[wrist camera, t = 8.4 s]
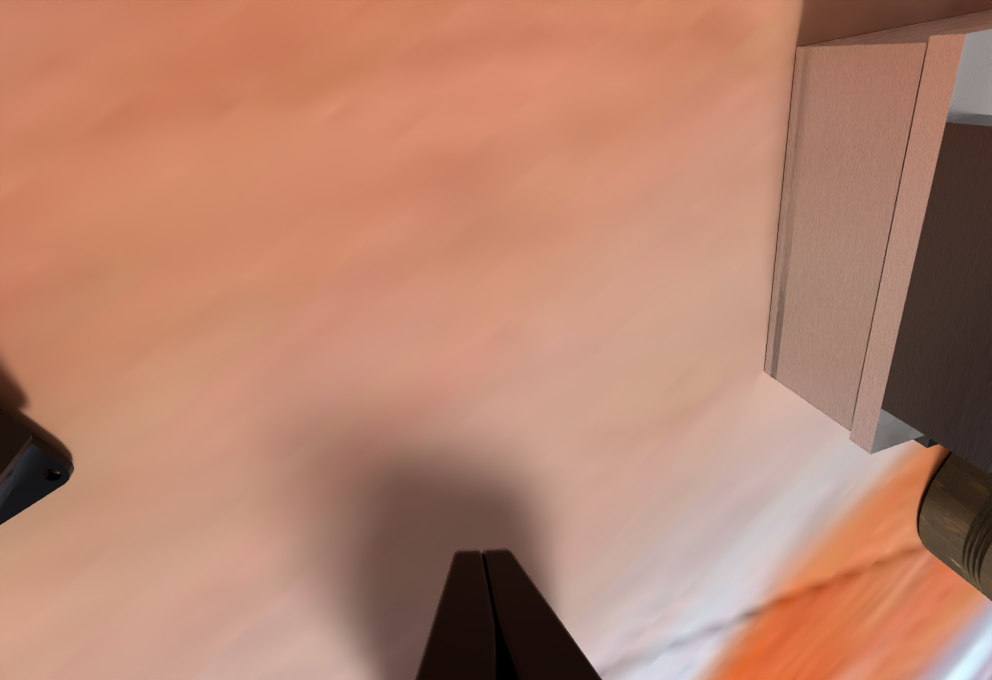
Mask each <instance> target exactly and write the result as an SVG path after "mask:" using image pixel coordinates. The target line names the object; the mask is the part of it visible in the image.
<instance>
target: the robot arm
mask: <svg viewBox="0 0 992 680" xmlns="http://www.w3.org/2000/svg"><path fill="white" fill-rule="evenodd" d="M49 469H55V470H58V471H59V472H60V474H57V473H52V472H50V471H49ZM73 471H74V466H73V463H72V462H71V461H70V460H69V459H67V458H66V457H65V456H63V455H62V454H60V453H59V452H58V451H56V450H55V449H54V448H52V447H51V446H49V445H48V444H47V443H45V442H44V441H42V440H41V439H40V438H38V437H37V436H36V435H34V434H33V433H31V432H30V431H29V430H27V429H26V428H25V427H23V426H22V425H21V424H19V423H18V422H16V421H15V420H14V419H12V418H11V417H9V416H8V415H7V414H5V413H4V412H3V411H1V410H0V525H1V524H3V523H4V522H6V521H7V520H9V519H10V518H12V517H14V516H15V515H17V514H18V513H20V512H21V511H23V510H25V509H26V508H28V507H29V506H31V505H32V504H34V503H35V502H37V501H39V500H40V499H42V498H43V497H45V496H46V495H48V494H50V493H51V492H53V491H54V490H56V489H57V488H59V487H61V486H62V485H64V484H65V483H66V482H67V481H68V480H69V478H70V477H71V475H72V473H73ZM415 680H602V679H601V677H600V676H599V675H598V673H597V672H596V670H595V669H594V668H593V666H592V665H591V663H590V662H589V660H588V659H587V658H586V656H585V655H584V653H583V652H582V651H581V649H580V648H579V646H578V645H577V644H576V642H575V641H574V639H573V638H572V636H571V635H570V634H569V632H568V631H567V629H566V628H565V627H564V625H563V624H562V622H561V621H560V620H559V618H558V617H557V615H556V614H555V612H554V611H553V610H552V608H551V607H550V605H549V604H548V603H547V601H546V600H545V598H544V597H543V595H542V594H541V593H540V591H539V590H538V588H537V587H536V586H535V584H534V583H533V581H532V580H531V579H530V577H529V576H528V574H527V573H526V571H525V570H524V569H523V567H522V566H521V564H520V563H519V562H518V560H517V559H516V557H515V556H514V555H513V553H512V552H511V551H510V550H509V549H507V548H495V549H485V550H484V551H483V552H481V551H480V550H478V549H468V550H457V551H456V552H455V553H454V555H453V558H452V562H451V565H450V568H449V571H448V575H447V578H446V581H445V584H444V587H443V591H442V594H441V597H440V600H439V604H438V607H437V610H436V613H435V617H434V620H433V623H432V626H431V630H430V633H429V636H428V639H427V643H426V646H425V649H424V652H423V655H422V659H421V662H420V665H419V668H418V672H417V675H416V678H415Z"/></svg>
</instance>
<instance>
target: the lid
mask: <svg viewBox="0 0 992 680" xmlns="http://www.w3.org/2000/svg"><path fill="white" fill-rule="evenodd" d="M924 435H925V436H927V437H929V438H930V439H932V440H933V441H935V442H937V443H938V444H940V445H942V446H943V447H945V448H946V449H948V450H950V451H951V452H953V453H955V454H956V455H958V456H959V457H961V458H963V459H964V460H966V461H968V462H969V463H971V464H972V465H974V466H976V467H977V468H979V469H981V470H982V471H984V472H985V473H987V474H989V473H991V472H992V23H991V24H986V25H981V26H976V27H971V28H966V29H961V30H956V31H951V32H946V33H941V34H936V35H930V37H929V42H928V47H927V52H926V57H925V62H924V67H923V72H922V77H921V82H920V87H919V92H918V97H917V102H916V107H915V112H914V117H913V123H912V128H911V133H910V138H909V143H908V148H907V153H906V158H905V163H904V168H903V173H902V178H901V183H900V188H899V193H898V198H897V203H896V208H895V213H894V218H893V223H892V228H891V233H890V238H889V243H888V248H887V253H886V258H885V263H884V268H883V273H882V278H881V283H880V288H879V293H878V298H877V303H876V308H875V313H874V318H873V323H872V328H871V333H870V338H869V343H868V348H867V353H866V358H865V363H864V368H863V373H862V378H861V383H860V388H859V393H858V398H857V403H856V408H855V413H854V418H853V423H852V428H851V433H850V438H849V439H850V440H851V441H853V442H854V443H855V444H857V445H858V446H860V447H861V448H862V449H864V450H865V451H867V452H868V453H870V454H872V453H875V452H878V451H881V450H884V449H887V448H889V447H892V446H895V445H898V444H901V443H904V442H906V441H909V440H912V439H915V438H918V437H921V436H924Z"/></svg>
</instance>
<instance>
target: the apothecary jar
mask: <svg viewBox="0 0 992 680" xmlns="http://www.w3.org/2000/svg"><path fill="white" fill-rule="evenodd" d="M919 534H920V538H921V541H922V543H923V544H924V546H925V547H926V548H927V549H928V550H929V551H930V552H931V553H932V554H933V555H935V556H936V557H937V558H938V559H940V560H941V561H942V562H943V563H945V564H946V565H947V566H948V567H950V568H951V569H952V570H954V571H955V572H956V573H957V574H959V575H960V576H961V577H962V578H964V579H965V580H966V581H967V582H969V583H970V584H971V585H973V586H974V587H975V588H977V589H978V590H979V591H980V592H981V593H982V594H984V595H985V596H986V597H987V598H989V599H990V600H991V601H992V472H991V473H989V474H987V473H985V472H984V471H982V470H981V469H979V468H977V467H976V466H974V465H972V464H971V463H969V462H968V461H966V460H964V459H963V458H961V457H959V456H958V455H956V454H955V453H953V452H952V453H951V455H950V456H949V457H948V459H947V460H946V461H945V463H944V464H943V466H942V467H941V469H940V470H939V472H938V473H937V475H936V477H935V478H934V480H933V482H932V484H931V486H930V488H929V490H928V492H927V494H926V497H925V499H924V502H923V505H922V509H921V513H920V518H919Z"/></svg>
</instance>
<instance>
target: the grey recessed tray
mask: <svg viewBox="0 0 992 680" xmlns="http://www.w3.org/2000/svg"><path fill="white" fill-rule="evenodd" d="M991 23H992V9H991V10H986V11H981V12H976V13H971V14H965V15H960V16H955V17H950V18H945V19H940V20H935V21H929V22H924V23H919V24H914V25H909V26H904V27H898V28H893V29H888V30H883V31H878V32H873V33H867V34H862V35H857V36H852V37H847V38H842V39H836V40H831V41H826V42H821V43H816V44H811V45H806V46H800V47H797V50H796V60H795V70H794V80H793V90H792V100H791V110H790V120H789V130H788V140H787V150H786V160H785V171H784V181H783V191H782V201H781V211H780V221H779V231H778V241H777V251H776V261H775V271H774V281H773V291H772V301H771V312H770V322H769V332H768V342H767V352H766V362H765V373H767V374H768V375H770V376H771V377H772V378H774V379H775V380H777V381H778V382H780V383H781V384H783V385H784V386H785V387H787V388H788V389H790V390H791V391H793V392H794V393H796V394H797V395H798V396H800V397H801V398H803V399H804V400H806V401H807V402H809V403H810V404H811V405H813V406H814V407H816V408H817V409H819V410H820V411H821V412H823V413H824V414H826V415H827V416H829V417H830V418H832V419H833V420H834V421H836V422H837V423H839V424H840V425H842V426H843V427H845V428H846V429H847V430H849V431H851V428H852V423H853V418H854V413H855V408H856V403H857V398H858V393H859V388H860V383H861V378H862V373H863V368H864V363H865V358H866V353H867V348H868V343H869V338H870V333H871V328H872V323H873V318H874V313H875V308H876V303H877V298H878V293H879V288H880V283H881V278H882V273H883V268H884V263H885V258H886V253H887V248H888V243H889V238H890V233H891V228H892V223H893V218H894V213H895V208H896V203H897V198H898V193H899V188H900V183H901V178H902V173H903V168H904V163H905V158H906V153H907V148H908V143H909V138H910V133H911V128H912V123H913V117H914V112H915V107H916V102H917V97H918V92H919V87H920V82H921V77H922V72H923V67H924V62H925V57H926V52H927V47H928V42H929V37H930V35H936V34H941V33H946V32H951V31H956V30H961V29H966V28H971V27H976V26H981V25H986V24H991ZM914 440H915V441H917V442H918V443H920V444H922V445H923V446H925V447H926V448H929V447H931V446H934V445H937V444H938V443H937V442H935V441H933V440H932V439H930V438H929V437H927V436H925V435H924V436H921V437H918V438H915V439H914Z"/></svg>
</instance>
